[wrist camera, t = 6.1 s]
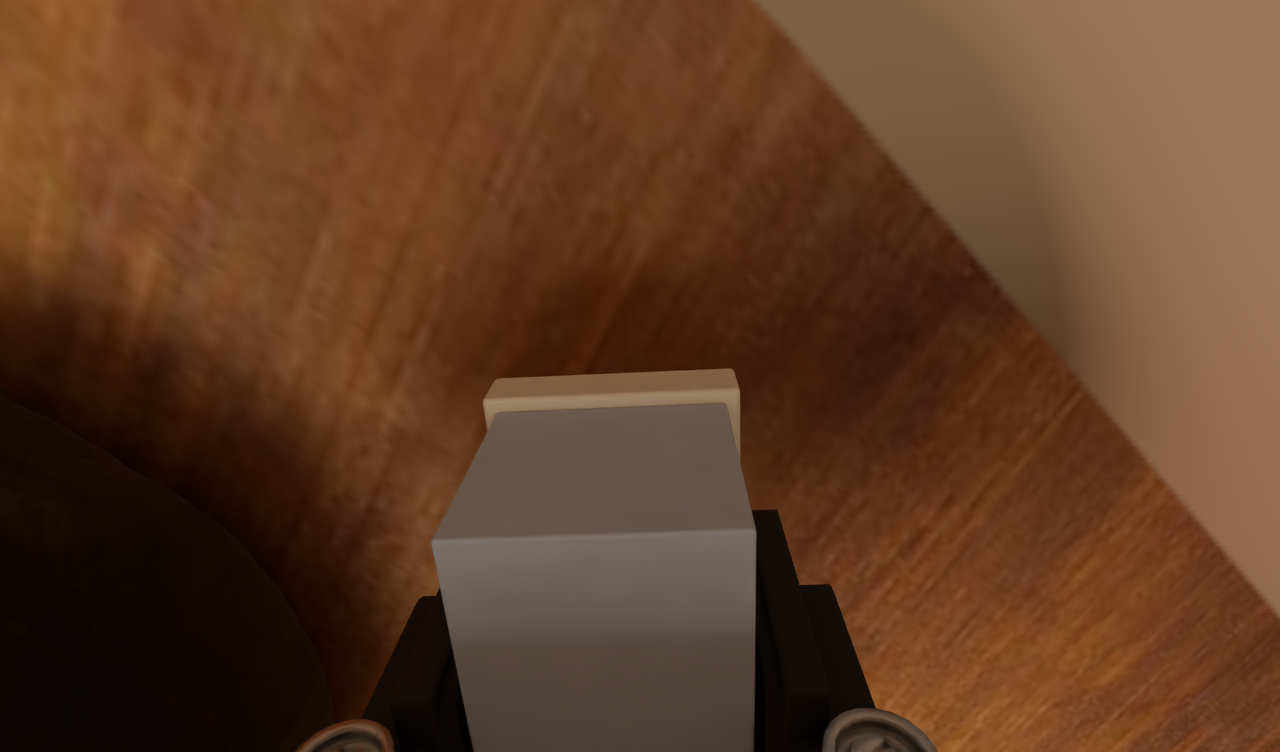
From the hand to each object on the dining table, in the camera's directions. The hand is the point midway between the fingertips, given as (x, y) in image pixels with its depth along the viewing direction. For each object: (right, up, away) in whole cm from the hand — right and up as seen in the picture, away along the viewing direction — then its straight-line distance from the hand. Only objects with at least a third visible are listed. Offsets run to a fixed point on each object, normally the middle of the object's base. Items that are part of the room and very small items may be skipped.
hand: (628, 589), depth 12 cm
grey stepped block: (0, 0, 0) cm, 0 cm away
